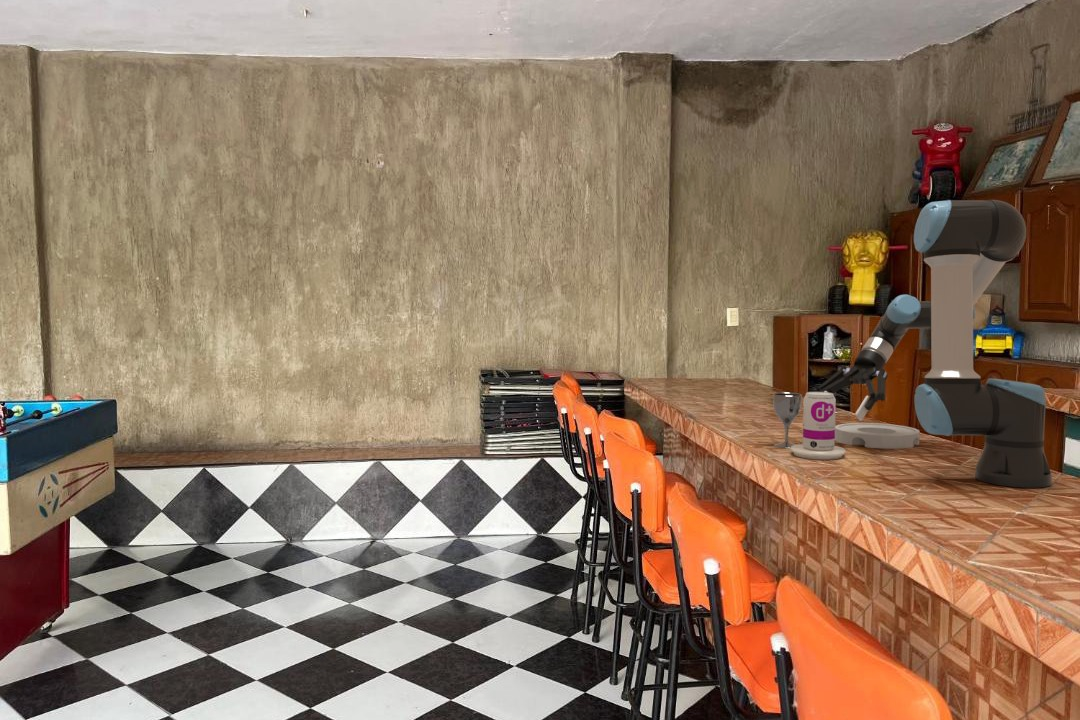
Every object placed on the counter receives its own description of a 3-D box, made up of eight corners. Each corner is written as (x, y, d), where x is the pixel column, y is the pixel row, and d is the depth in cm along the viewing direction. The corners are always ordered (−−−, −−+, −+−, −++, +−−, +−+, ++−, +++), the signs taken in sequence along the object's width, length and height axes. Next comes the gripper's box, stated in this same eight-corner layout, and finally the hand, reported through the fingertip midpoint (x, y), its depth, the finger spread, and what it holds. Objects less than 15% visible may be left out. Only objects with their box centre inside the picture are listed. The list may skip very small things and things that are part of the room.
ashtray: (934, 449, 223) (934, 435, 222) (851, 449, 223) (851, 435, 223) (898, 435, 246) (899, 422, 246) (823, 435, 246) (823, 423, 246)
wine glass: (797, 443, 232) (798, 392, 230) (803, 448, 224) (804, 395, 223) (769, 443, 232) (770, 392, 231) (775, 448, 224) (775, 395, 223)
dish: (852, 460, 207) (852, 453, 207) (797, 460, 208) (798, 453, 208) (836, 450, 221) (836, 444, 221) (785, 450, 222) (785, 443, 222)
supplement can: (837, 451, 209) (838, 395, 208) (804, 451, 211) (805, 395, 210) (831, 446, 217) (833, 391, 216) (800, 445, 219) (801, 391, 217)
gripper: (919, 369, 215) (883, 429, 208) (842, 363, 236) (806, 417, 230) (908, 350, 212) (870, 410, 205) (830, 346, 233) (794, 400, 226)
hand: (836, 414), depth 217 cm, fingers open, 13 cm apart
